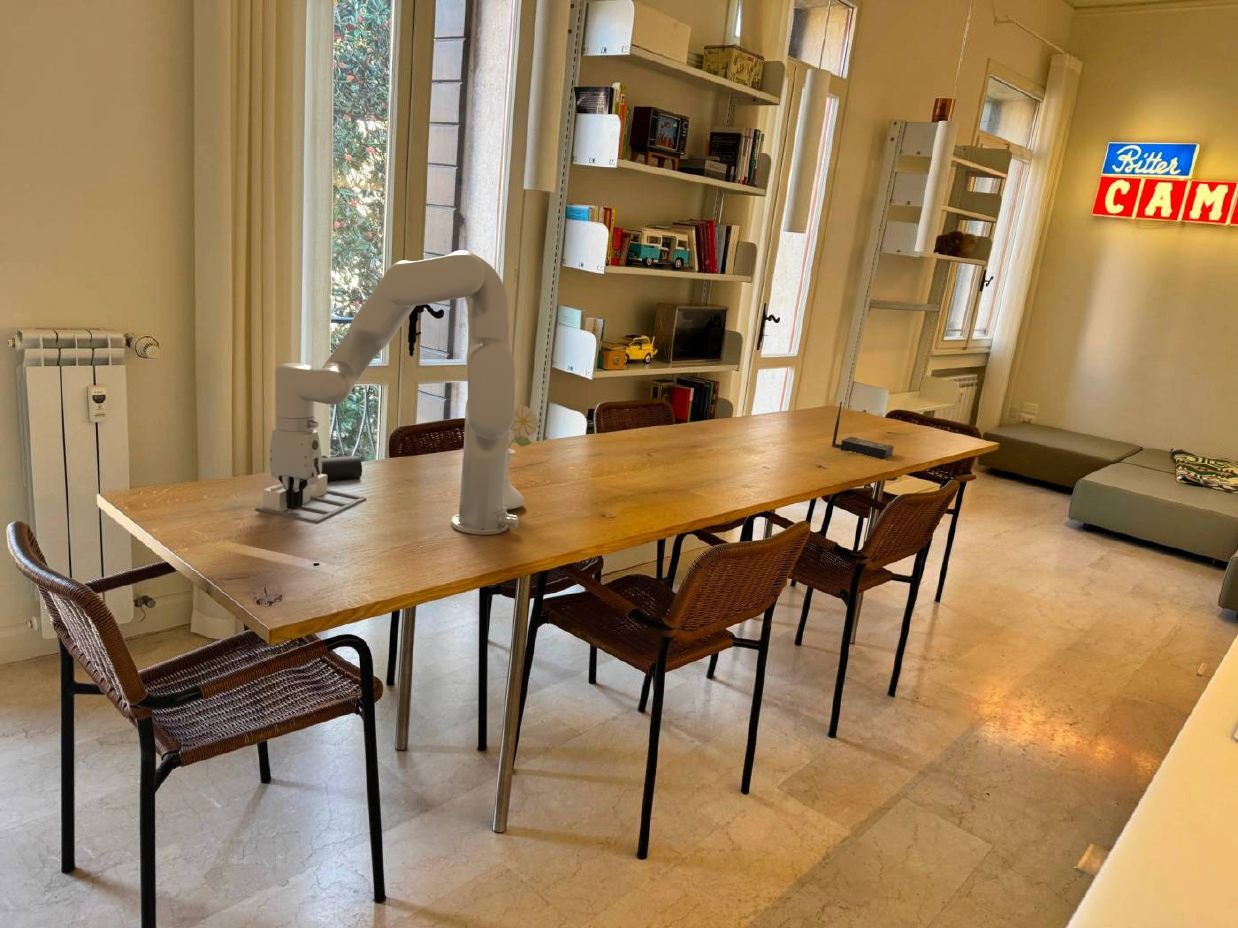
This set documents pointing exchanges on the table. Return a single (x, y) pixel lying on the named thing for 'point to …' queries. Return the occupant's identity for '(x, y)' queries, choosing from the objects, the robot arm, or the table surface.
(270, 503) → the cream block
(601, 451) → the table surface
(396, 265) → the robot arm
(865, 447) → the wireless controller
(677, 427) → the table surface
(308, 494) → the cream block with ridge
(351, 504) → the switch bank
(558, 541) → the table surface
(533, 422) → the flower in vase
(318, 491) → the cream block with bar
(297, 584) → the table surface
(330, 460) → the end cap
